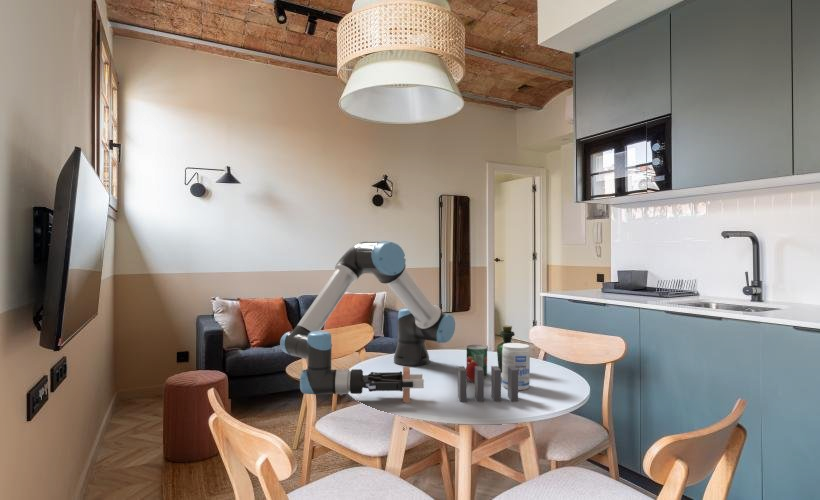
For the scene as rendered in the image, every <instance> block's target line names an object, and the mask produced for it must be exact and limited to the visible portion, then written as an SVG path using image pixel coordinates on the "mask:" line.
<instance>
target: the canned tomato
mask: <svg viewBox="0 0 820 500" xmlns="http://www.w3.org/2000/svg"><path fill="white" fill-rule="evenodd" d="M472 360H473V361H474V362H475V363H476V364H478V365H479V366H481V367H482V369H483V370H484V379H485V378H487V377H488V346H486V345H482V344H468V345H466V367H467V366H468V365H469V364H470V363H471V361H472Z"/></svg>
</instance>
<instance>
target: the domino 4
mask: <svg viewBox="0 0 820 500" xmlns="http://www.w3.org/2000/svg"><path fill="white" fill-rule="evenodd" d="M507 397H508V399H509V400H510V402H519V390H518V369H516V368H515V367H514V366H508V388H507Z"/></svg>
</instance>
